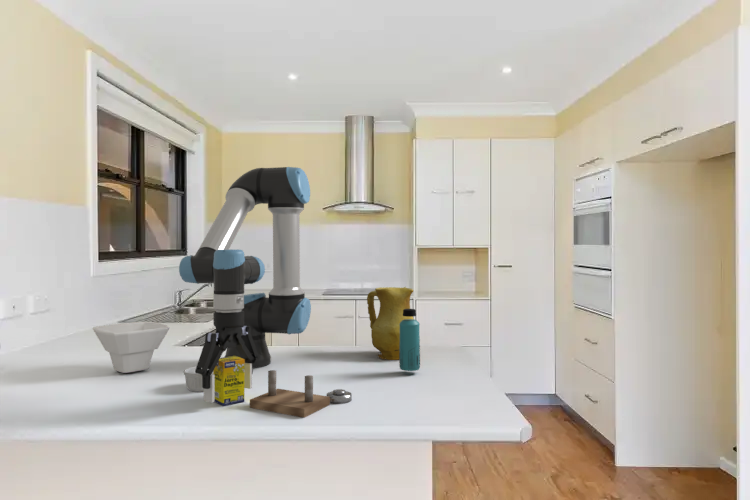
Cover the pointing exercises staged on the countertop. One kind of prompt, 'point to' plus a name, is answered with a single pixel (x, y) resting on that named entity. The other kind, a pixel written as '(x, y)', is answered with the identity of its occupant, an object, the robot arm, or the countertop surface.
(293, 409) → the peg rack
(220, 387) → the supplement box
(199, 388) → the ramekin
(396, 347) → the pitcher
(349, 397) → the metal knobbed disc
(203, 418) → the countertop surface
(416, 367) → the beverage bottle
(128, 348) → the bowl
